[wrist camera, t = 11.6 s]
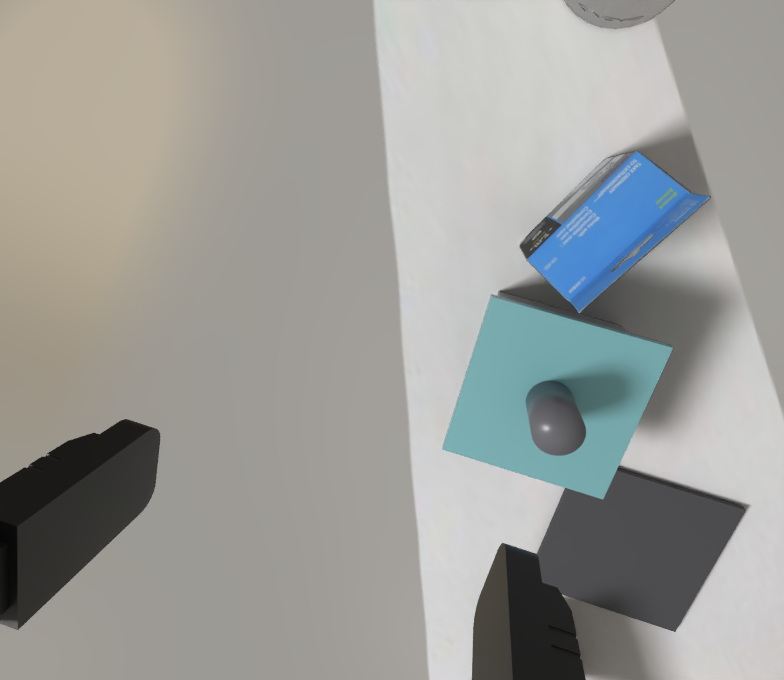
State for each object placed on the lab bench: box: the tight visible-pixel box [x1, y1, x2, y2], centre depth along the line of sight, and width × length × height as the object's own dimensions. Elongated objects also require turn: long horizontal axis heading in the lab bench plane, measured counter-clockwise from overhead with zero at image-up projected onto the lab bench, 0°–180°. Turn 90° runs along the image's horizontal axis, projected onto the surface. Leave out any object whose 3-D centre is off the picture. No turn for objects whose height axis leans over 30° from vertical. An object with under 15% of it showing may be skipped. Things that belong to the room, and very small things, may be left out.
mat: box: [537, 468, 746, 632], centre depth 45 cm, size 14×14×1 cm
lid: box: [443, 294, 673, 499], centre depth 33 cm, size 12×12×5 cm
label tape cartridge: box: [519, 151, 711, 313], centre depth 33 cm, size 9×4×12 cm, turn 138°
